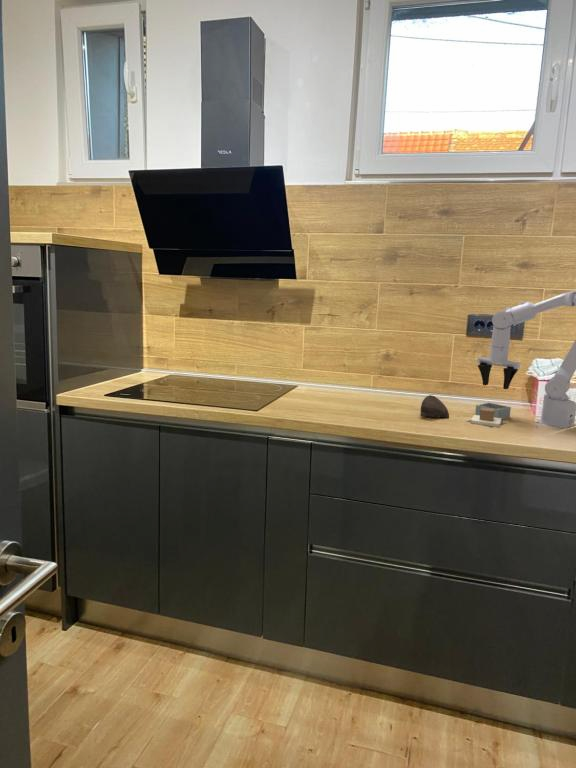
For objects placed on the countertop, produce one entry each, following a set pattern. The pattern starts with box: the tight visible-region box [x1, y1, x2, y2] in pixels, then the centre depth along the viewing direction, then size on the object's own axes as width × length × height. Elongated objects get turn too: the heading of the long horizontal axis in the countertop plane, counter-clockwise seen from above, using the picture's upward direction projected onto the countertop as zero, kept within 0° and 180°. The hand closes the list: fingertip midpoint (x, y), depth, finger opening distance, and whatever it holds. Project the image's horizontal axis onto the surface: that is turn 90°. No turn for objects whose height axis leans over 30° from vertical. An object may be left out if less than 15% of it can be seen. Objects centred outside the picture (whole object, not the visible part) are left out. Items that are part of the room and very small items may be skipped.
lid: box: [470, 408, 503, 428], centre depth 182 cm, size 9×9×4 cm
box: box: [474, 402, 512, 420], centre depth 190 cm, size 8×8×4 cm
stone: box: [420, 394, 450, 419], centre depth 188 cm, size 10×8×10 cm
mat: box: [466, 419, 507, 428], centre depth 182 cm, size 9×9×1 cm
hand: (495, 386), depth 193 cm, fingers open, 7 cm apart
